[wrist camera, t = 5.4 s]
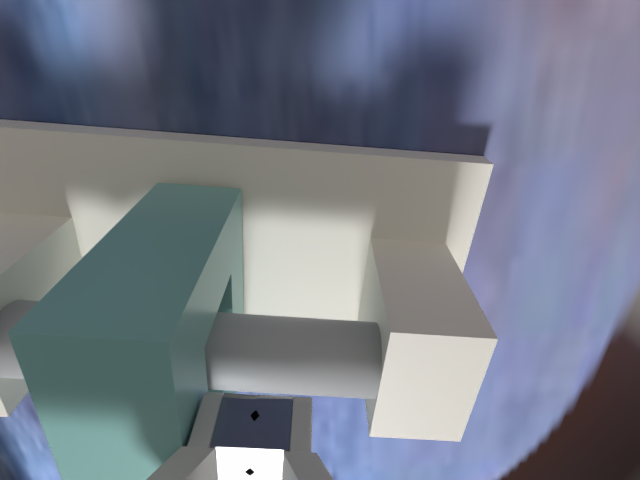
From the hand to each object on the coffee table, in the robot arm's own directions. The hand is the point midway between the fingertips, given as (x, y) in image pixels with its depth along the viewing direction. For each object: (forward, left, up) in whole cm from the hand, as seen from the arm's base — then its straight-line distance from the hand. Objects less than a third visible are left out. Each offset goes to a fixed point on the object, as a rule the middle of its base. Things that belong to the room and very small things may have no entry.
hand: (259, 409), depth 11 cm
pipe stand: (-2, 0, -8) cm, 8 cm away
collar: (-3, 0, -6) cm, 7 cm away
